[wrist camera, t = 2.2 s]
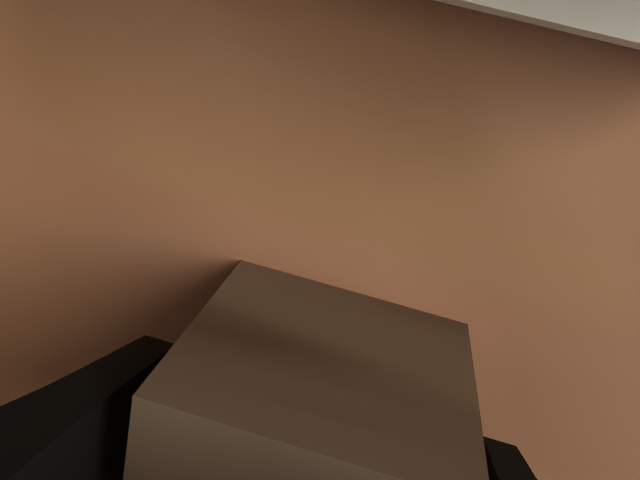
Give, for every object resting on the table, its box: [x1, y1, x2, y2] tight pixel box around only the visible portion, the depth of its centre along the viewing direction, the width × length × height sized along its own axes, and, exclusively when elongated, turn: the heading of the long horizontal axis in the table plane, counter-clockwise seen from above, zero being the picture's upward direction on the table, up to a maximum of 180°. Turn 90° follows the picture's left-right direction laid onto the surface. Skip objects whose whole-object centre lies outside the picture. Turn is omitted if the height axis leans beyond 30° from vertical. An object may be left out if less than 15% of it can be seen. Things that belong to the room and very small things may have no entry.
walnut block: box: [123, 260, 489, 480], centre depth 10 cm, size 4×4×4 cm
